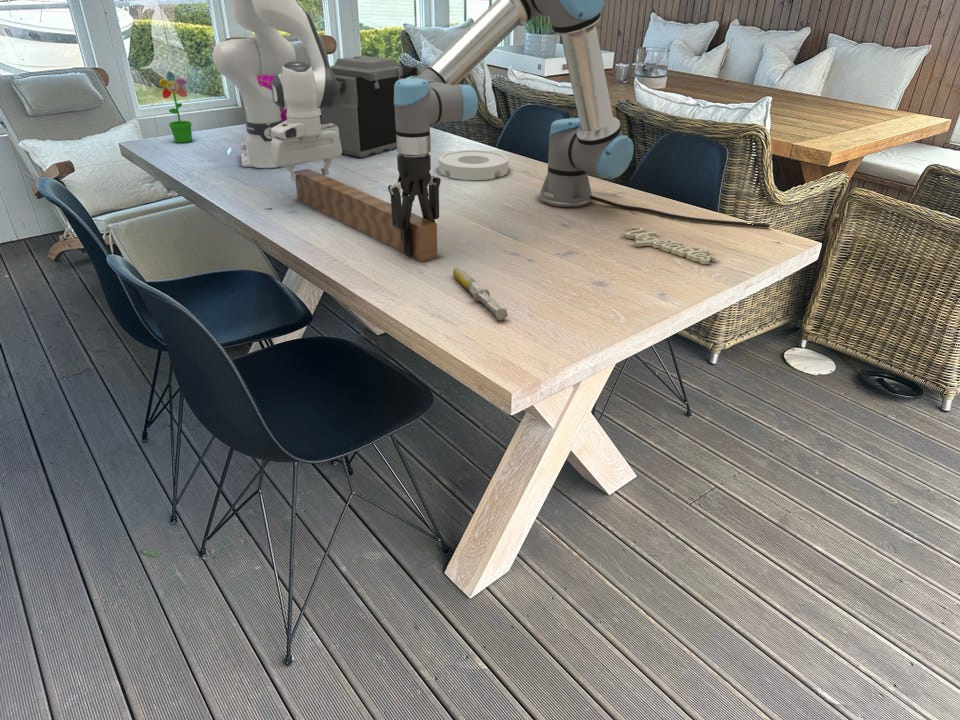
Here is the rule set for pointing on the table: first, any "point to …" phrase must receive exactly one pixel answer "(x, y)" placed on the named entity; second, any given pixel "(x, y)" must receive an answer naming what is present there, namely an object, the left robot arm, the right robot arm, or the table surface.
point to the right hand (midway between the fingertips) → (417, 251)
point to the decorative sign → (669, 245)
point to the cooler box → (366, 103)
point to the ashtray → (473, 164)
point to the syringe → (479, 293)
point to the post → (364, 213)
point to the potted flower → (178, 128)
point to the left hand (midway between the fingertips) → (310, 177)
